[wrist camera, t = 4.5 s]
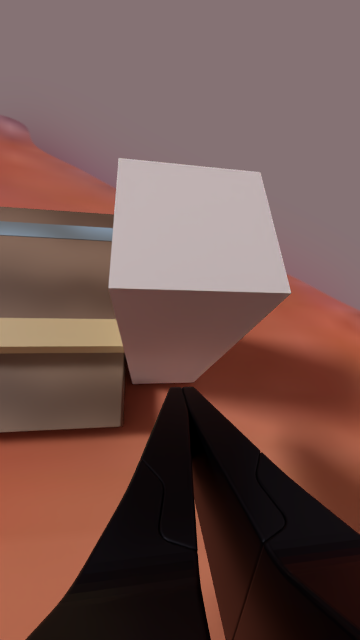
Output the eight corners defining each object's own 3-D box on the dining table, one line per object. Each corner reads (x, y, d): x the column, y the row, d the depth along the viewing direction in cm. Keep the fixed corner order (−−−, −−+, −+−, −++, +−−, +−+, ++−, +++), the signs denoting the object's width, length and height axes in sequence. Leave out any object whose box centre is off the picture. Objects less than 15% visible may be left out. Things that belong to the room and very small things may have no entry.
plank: (122, 426, 15) (119, 426, 13) (-63, 435, 14) (-96, 436, 12) (131, 234, 21) (129, 215, 19) (2, 226, 20) (-13, 205, 18)
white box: (193, 382, 16) (290, 293, 6) (-22, 387, 15) (-505, 270, 4) (189, 326, 18) (260, 172, 7) (-6, 325, 16) (-310, 114, 5)
